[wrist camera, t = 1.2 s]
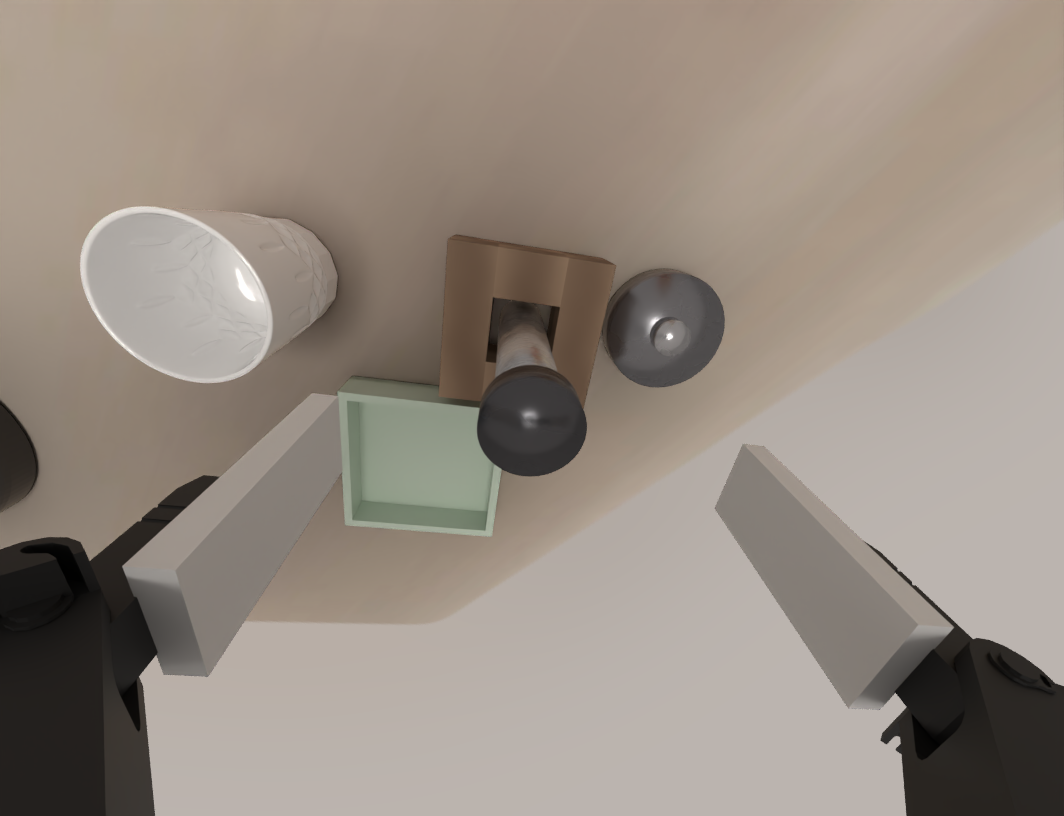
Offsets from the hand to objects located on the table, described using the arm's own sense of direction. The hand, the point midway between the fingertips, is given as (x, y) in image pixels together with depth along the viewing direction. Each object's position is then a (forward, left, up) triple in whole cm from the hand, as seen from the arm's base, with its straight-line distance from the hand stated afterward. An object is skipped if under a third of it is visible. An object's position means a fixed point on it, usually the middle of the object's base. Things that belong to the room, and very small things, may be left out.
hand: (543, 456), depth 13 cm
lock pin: (0, 0, -18) cm, 18 cm away
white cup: (-16, +1, -18) cm, 25 cm away
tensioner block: (0, 0, -18) cm, 18 cm away
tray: (-6, -12, -18) cm, 23 cm away
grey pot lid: (+10, +1, -18) cm, 21 cm away
